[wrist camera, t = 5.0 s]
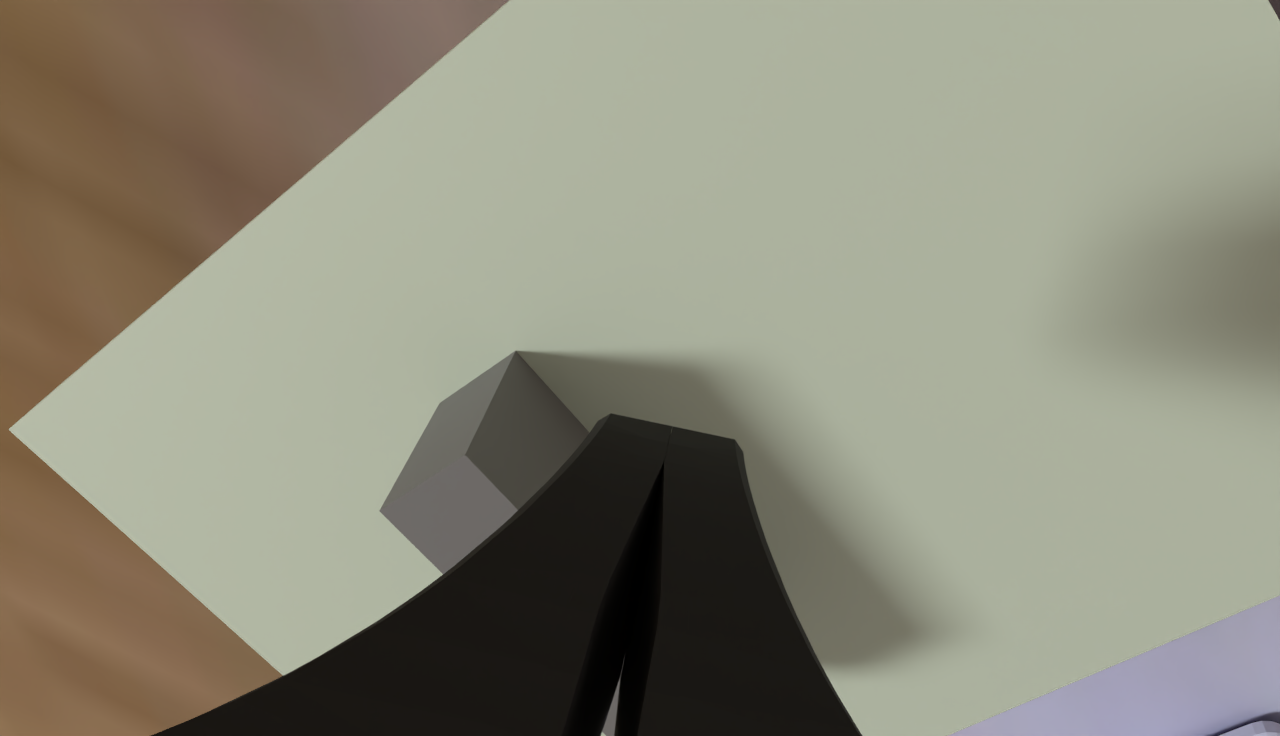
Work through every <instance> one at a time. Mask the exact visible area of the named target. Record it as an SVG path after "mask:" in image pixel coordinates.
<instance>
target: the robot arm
mask: <svg viewBox="0 0 1280 736" xmlns="http://www.w3.org/2000/svg"><path fill="white" fill-rule="evenodd" d="M671 430H672V431H671ZM622 666H623V667H622ZM621 671H622V672H621ZM620 676H621V677H620ZM619 679H620V686H619V695H618V704H617V714H616V723H615V732H614V736H862V734H861V733H860V731H859V729H858V728H857V726H856V724H855V723H854V721H853V719H852V718H851V716H850V714H849V713H848V711H847V709H846V708H845V706H844V705H843V703H842V701H841V700H840V698H839V696H838V694H837V693H836V691H835V689H834V687H833V686H832V684H831V682H830V680H829V678H828V677H827V675H826V673H825V671H824V669H823V667H822V665H821V663H820V661H819V660H818V658H817V656H816V654H815V652H814V650H813V648H812V646H811V644H810V642H809V639H808V637H807V635H806V633H805V631H804V629H803V627H802V625H801V623H800V621H799V619H798V617H797V615H796V612H795V610H794V608H793V606H792V603H791V601H790V599H789V596H788V594H787V592H786V590H785V587H784V585H783V582H782V580H781V577H780V574H779V572H778V569H777V567H776V564H775V562H774V559H773V557H772V554H771V552H770V549H769V546H768V544H767V541H766V538H765V535H764V532H763V529H762V526H761V523H760V520H759V517H758V514H757V510H756V507H755V504H754V501H753V497H752V493H751V490H750V486H749V482H748V477H747V473H746V467H745V462H744V453H743V451H742V449H741V448H740V446H739V445H738V443H737V442H736V440H735V439H731V438H726V437H721V436H717V435H712V434H707V433H702V432H698V431H693V430H688V429H683V428H679V427H674V426H673V427H672V426H669V425H664V424H660V423H655V422H650V421H645V420H641V419H636V418H631V417H626V416H622V415H617V414H612V413H610V414H609V415H607V416H605V417H603V418H602V419H600V420H598V421H597V423H596V424H595V426H594V427H593V429H592V430H591V431H590V433H589V434H588V435H587V437H586V438H585V439H584V441H583V442H582V443H581V444H580V446H579V447H578V448H577V449H576V450H575V452H574V453H573V454H572V455H571V456H570V457H569V459H568V460H567V461H566V462H565V463H564V464H563V465H562V466H561V467H560V468H559V470H558V471H557V472H556V473H555V474H554V475H553V476H552V477H551V478H550V479H549V480H548V481H547V482H546V483H545V484H544V485H543V486H542V487H541V488H540V489H539V490H538V491H537V492H536V493H535V494H534V495H533V496H532V497H531V498H530V499H529V500H528V501H527V502H526V503H525V504H524V505H523V506H522V507H521V508H520V509H519V510H518V511H517V512H516V513H515V514H514V515H513V516H512V517H511V518H510V519H508V520H507V521H506V522H505V523H504V524H503V525H502V526H501V527H500V528H498V529H497V530H496V531H495V532H494V533H493V534H491V535H490V536H489V537H488V538H487V539H485V540H484V541H483V542H482V543H481V544H479V545H478V546H477V547H476V548H475V549H474V550H472V551H471V552H470V553H469V554H468V555H466V556H465V557H464V558H463V559H462V560H461V561H459V562H458V563H457V564H456V565H455V566H453V567H452V568H451V569H450V570H448V571H447V572H446V573H444V574H443V575H442V576H440V577H439V578H438V579H436V580H435V581H434V582H432V583H431V584H430V585H428V586H427V587H426V588H424V589H423V590H422V591H420V592H419V593H417V594H416V595H415V596H413V597H412V598H410V599H409V600H408V601H406V602H405V603H403V604H402V605H400V606H399V607H397V608H396V609H394V610H393V611H391V612H390V613H388V614H387V615H385V616H384V617H383V618H381V619H380V620H378V621H376V622H375V623H373V624H372V625H370V626H368V627H367V628H365V629H363V630H362V631H360V632H359V633H357V634H355V635H354V636H352V637H350V638H349V639H347V640H345V641H344V642H342V643H340V644H339V645H337V646H335V647H334V648H332V649H330V650H329V651H327V652H325V653H324V654H322V655H320V656H319V657H317V658H315V659H313V660H311V661H310V662H308V663H306V664H304V665H302V666H301V667H299V668H297V669H295V670H293V671H291V672H289V673H288V674H286V675H284V676H282V677H280V678H278V679H276V680H274V681H272V682H270V683H268V684H266V685H263V686H261V687H259V688H257V689H255V690H253V691H251V692H249V693H247V694H245V695H242V696H240V697H238V698H236V699H234V700H232V701H230V702H228V703H226V704H223V705H221V706H219V707H217V708H215V709H213V710H211V711H209V712H207V713H204V714H202V715H200V716H198V717H195V718H193V719H191V720H189V721H186V722H184V723H181V724H179V725H176V726H174V727H171V728H169V729H166V730H164V731H162V732H159V733H157V734H154V735H151V736H601V734H602V731H603V728H604V725H605V722H606V719H607V716H608V713H609V710H610V706H611V703H612V700H613V697H614V694H615V691H616V688H617V685H618V682H619ZM1219 736H1280V724H1279V723H1276V722H1273V721H1258V722H1254V723H1250V724H1248V725H1245V726H1242V727H1240V728H1237V729H1235V730H1232V731H1229V732H1227V733H1224V734H1222V735H1219Z"/></svg>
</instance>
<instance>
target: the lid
mask: <svg viewBox="0 0 1280 736" xmlns="http://www.w3.org/2000/svg"><path fill="white" fill-rule="evenodd" d="M610 413H612V414H617V415H622V416H626V417H631V418H636V419H641V420H645V421H650V422H655V423H660V424H664V425H669V426H672V427H673V426H674V427H679V428H683V429H688V430H693V431H698V432H702V433H707V434H712V435H717V436H721V437H726V438H731V439H735V440H736V442H737V443H738V445H739V446H740V448H741V449H742V451H743V453H744V462H745V467H746V473H747V477H748V482H749V486H750V490H751V493H752V497H753V501H754V504H755V507H756V510H757V514H758V517H759V520H760V523H761V526H762V529H763V532H764V535H765V538H766V541H767V544H768V546H769V549H770V552H771V554H772V557H773V559H774V562H775V564H776V567H777V569H778V572H779V574H780V577H781V580H782V582H783V585H784V587H785V590H786V592H787V594H788V596H789V599H790V601H791V603H792V606H793V608H794V610H795V612H796V615H797V617H798V619H799V621H800V623H801V625H802V627H803V629H804V631H805V633H806V635H807V637H808V639H809V642H810V644H811V646H812V648H813V650H814V652H815V654H816V656H817V658H818V660H819V661H820V663H821V665H822V667H823V669H824V671H825V673H826V675H827V677H828V678H829V680H830V682H831V684H832V686H833V687H834V689H835V691H836V693H837V694H838V696H839V698H840V700H841V701H842V703H843V705H844V706H845V708H846V709H847V711H848V713H849V714H850V716H851V718H852V719H853V721H854V723H855V724H856V726H857V728H858V729H859V731H860V733H861V734H862V736H948V735H950V734H953V733H955V732H957V731H960V730H962V729H965V728H967V727H969V726H972V725H974V724H976V723H979V722H981V721H983V720H986V719H988V718H991V717H993V716H995V715H998V714H1000V713H1002V712H1005V711H1007V710H1010V709H1012V708H1014V707H1017V706H1019V705H1021V704H1024V703H1026V702H1028V701H1031V700H1033V699H1036V698H1038V697H1040V696H1043V695H1045V694H1047V693H1050V692H1052V691H1054V690H1057V689H1059V688H1062V687H1064V686H1066V685H1069V684H1071V683H1073V682H1076V681H1078V680H1081V679H1083V678H1085V677H1088V676H1090V675H1092V674H1095V673H1097V672H1099V671H1102V670H1104V669H1107V668H1109V667H1111V666H1114V665H1116V664H1118V663H1121V662H1123V661H1126V660H1128V659H1130V658H1133V657H1135V656H1137V655H1140V654H1142V653H1144V652H1147V651H1149V650H1152V649H1154V648H1156V647H1159V646H1161V645H1163V644H1166V643H1168V642H1170V641H1173V640H1175V639H1178V638H1180V637H1182V636H1185V635H1187V634H1189V633H1192V632H1194V631H1197V630H1199V629H1201V628H1204V627H1206V626H1208V625H1211V624H1213V623H1215V622H1218V621H1220V620H1223V619H1225V618H1227V617H1230V616H1232V615H1234V614H1237V613H1239V612H1242V611H1244V610H1246V609H1249V608H1251V607H1253V606H1256V605H1258V604H1260V603H1263V602H1265V601H1268V600H1270V599H1272V598H1275V597H1277V596H1279V595H1280V20H1279V18H1278V17H1277V15H1276V13H1275V11H1274V10H1273V8H1272V6H1271V4H1270V2H1269V1H1268V0H509V1H508V2H506V3H505V4H504V5H503V6H502V7H501V8H499V9H498V10H497V11H496V12H495V13H494V14H492V15H491V16H490V17H489V18H488V19H487V20H485V21H484V22H483V23H482V24H481V25H480V26H478V27H477V28H476V29H475V30H474V31H473V32H471V33H470V34H469V35H468V36H467V37H466V38H464V39H463V40H462V41H461V42H460V43H459V44H457V45H456V46H455V47H454V48H453V49H452V50H450V51H449V52H448V53H447V54H446V55H445V56H443V57H442V58H441V59H440V60H439V61H438V62H436V63H435V64H434V65H433V66H432V67H431V68H429V69H428V70H427V71H426V72H425V73H424V74H422V75H421V76H420V77H419V78H418V79H417V80H415V81H414V82H413V83H412V84H411V85H409V86H408V87H407V88H406V89H405V90H404V91H402V92H401V93H400V94H399V95H398V96H397V97H395V98H394V99H393V100H392V101H391V102H390V103H388V104H387V105H386V106H385V107H384V108H383V109H381V110H380V111H379V112H378V113H377V114H376V115H374V116H373V117H372V118H371V119H370V120H369V121H367V122H366V123H365V124H364V125H363V126H362V127H360V128H359V129H358V130H357V131H356V132H355V133H353V134H352V135H351V136H350V137H349V138H348V139H346V140H345V141H344V142H343V143H342V144H341V145H339V146H338V147H337V148H336V149H335V150H334V151H332V152H331V153H330V154H329V155H328V156H327V157H325V158H324V159H323V160H322V161H321V162H320V163H318V164H317V165H316V166H315V167H314V168H313V169H311V170H310V171H309V172H308V173H307V174H306V175H304V176H303V177H302V178H301V179H300V180H299V181H297V182H296V183H295V184H294V185H293V186H291V187H290V188H289V189H288V190H287V191H286V192H284V193H283V194H282V195H281V196H280V197H279V198H277V199H276V200H275V201H274V202H273V203H272V204H270V205H269V206H268V207H267V208H266V209H265V210H263V211H262V212H261V213H260V214H259V215H258V216H256V217H255V218H254V219H253V220H252V221H251V222H249V223H248V224H247V225H246V226H245V227H244V228H242V229H241V230H240V231H239V232H238V233H237V234H235V235H234V236H233V237H232V238H231V239H230V240H228V241H227V242H226V243H225V244H224V245H223V246H221V247H220V248H219V249H218V250H217V251H216V252H214V253H213V254H212V255H211V256H210V257H209V258H207V259H206V260H205V261H204V262H203V263H202V264H200V265H199V266H198V267H197V268H196V269H195V270H193V271H192V272H191V273H190V274H189V275H188V276H186V277H185V278H184V279H183V280H182V281H181V282H179V283H178V284H177V285H176V286H175V287H173V288H172V289H171V290H170V291H169V292H168V293H166V294H165V295H164V296H163V297H162V298H161V299H159V300H158V301H157V302H156V303H155V304H154V305H152V306H151V307H150V308H149V309H148V310H147V311H145V312H144V313H143V314H142V315H141V316H140V317H138V318H137V319H136V320H135V321H134V322H133V323H131V324H130V325H129V326H128V327H127V328H126V329H124V330H123V331H122V332H121V333H120V334H119V335H117V336H116V337H115V338H114V339H113V340H112V341H110V342H109V343H108V344H107V345H106V346H105V347H103V348H102V349H101V350H100V351H99V352H98V353H96V354H95V355H94V356H93V357H92V358H91V359H89V360H88V361H87V362H86V363H85V364H84V365H82V366H81V367H80V368H79V369H78V370H77V371H75V372H74V373H73V374H72V375H71V376H70V377H68V378H67V379H66V380H65V381H64V382H63V383H61V384H60V385H59V386H58V387H57V388H55V389H54V390H53V391H52V392H51V393H50V394H48V395H47V396H46V397H45V398H44V399H43V400H42V401H40V402H39V403H38V404H37V405H36V406H35V407H34V408H32V409H31V410H30V411H29V412H28V413H27V414H26V415H24V416H23V417H22V418H21V419H20V420H19V421H18V422H17V423H15V424H14V425H13V426H12V427H11V428H10V429H9V430H10V431H11V432H12V433H13V434H14V435H15V436H16V437H17V438H19V439H20V440H21V441H22V442H23V443H24V444H25V445H26V446H27V447H29V448H30V449H31V450H32V451H33V452H34V453H35V454H36V455H37V456H39V457H40V458H41V459H42V460H43V461H44V462H45V463H46V464H48V465H49V466H50V467H51V468H52V469H53V470H54V471H55V472H56V473H58V474H59V475H60V476H61V477H62V478H63V479H64V480H65V481H66V482H68V483H69V484H70V485H71V486H72V487H73V488H74V489H75V490H77V491H78V492H79V493H80V494H81V495H82V496H83V497H84V498H85V499H87V500H88V501H89V502H90V503H91V504H92V505H93V506H94V507H96V508H97V509H98V510H99V511H100V512H101V513H102V514H103V515H104V516H106V517H107V518H108V519H109V520H110V521H111V522H112V523H113V524H114V525H116V526H117V527H118V528H119V529H120V530H121V531H122V532H123V533H125V534H126V535H127V536H128V537H129V538H130V539H131V540H132V541H133V542H135V543H136V544H137V545H138V546H139V547H140V548H141V549H142V550H144V551H145V552H146V553H147V554H148V555H149V556H150V557H151V558H152V559H154V560H155V561H156V562H157V563H158V564H159V565H160V566H161V567H162V568H164V569H165V570H166V571H167V572H168V573H169V574H170V575H171V576H173V577H174V578H175V579H176V580H177V581H178V582H179V583H180V584H181V585H183V586H184V587H185V588H186V589H187V590H188V591H189V592H190V593H192V594H193V595H194V596H195V597H196V598H197V599H198V600H199V601H200V602H202V603H203V604H204V605H205V606H206V607H207V608H208V609H209V610H210V611H212V612H213V613H214V614H215V615H216V616H217V617H218V618H219V619H221V620H222V621H223V622H224V623H225V624H226V625H227V626H228V627H229V628H231V629H232V630H233V631H234V632H235V633H236V634H237V635H238V636H240V637H241V638H242V639H243V640H244V641H245V642H246V643H247V644H248V645H250V646H251V647H252V648H253V649H254V650H255V651H256V652H257V653H258V654H260V655H261V656H262V657H263V658H264V659H265V660H266V661H267V662H269V663H270V664H271V665H272V666H273V667H274V668H275V669H276V670H277V671H279V672H280V673H281V674H282V675H283V676H284V675H286V674H288V673H289V672H291V671H293V670H295V669H297V668H299V667H301V666H302V665H304V664H306V663H308V662H310V661H311V660H313V659H315V658H317V657H319V656H320V655H322V654H324V653H325V652H327V651H329V650H330V649H332V648H334V647H335V646H337V645H339V644H340V643H342V642H344V641H345V640H347V639H349V638H350V637H352V636H354V635H355V634H357V633H359V632H360V631H362V630H363V629H365V628H367V627H368V626H370V625H372V624H373V623H375V622H376V621H378V620H380V619H381V618H383V617H384V616H385V615H387V614H388V613H390V612H391V611H393V610H394V609H396V608H397V607H399V606H400V605H402V604H403V603H405V602H406V601H408V600H409V599H410V598H412V597H413V596H415V595H416V594H417V593H419V592H420V591H422V590H423V589H424V588H426V587H427V586H428V585H430V584H431V583H432V582H434V581H435V580H436V579H438V578H439V577H440V576H442V575H443V574H444V573H446V572H447V571H448V570H450V569H451V568H452V567H453V566H455V565H456V564H457V563H458V562H459V561H461V560H462V559H463V558H464V557H465V556H466V555H468V554H469V553H470V552H471V551H472V550H474V549H475V548H476V547H477V546H478V545H479V544H481V543H482V542H483V541H484V540H485V539H487V538H488V537H489V536H490V535H491V534H493V533H494V532H495V531H496V530H497V529H498V528H500V527H501V526H502V525H503V524H504V523H505V522H506V521H507V520H508V519H510V518H511V517H512V516H513V515H514V514H515V513H516V512H517V511H518V510H519V509H520V508H521V507H522V506H523V505H524V504H525V503H526V502H527V501H528V500H529V499H530V498H531V497H532V496H533V495H534V494H535V493H536V492H537V491H538V490H539V489H540V488H541V487H542V486H543V485H544V484H545V483H546V482H547V481H548V480H549V479H550V478H551V477H552V476H553V475H554V474H555V473H556V472H557V471H558V470H559V468H560V467H561V466H562V465H563V464H564V463H565V462H566V461H567V460H568V459H569V457H570V456H571V455H572V454H573V453H574V452H575V450H576V449H577V448H578V447H579V446H580V444H581V443H582V442H583V441H584V439H585V438H586V437H587V435H588V434H589V433H590V431H591V430H592V429H593V427H594V426H595V424H596V423H597V421H598V420H600V419H602V418H603V417H605V416H607V415H609V414H610ZM671 431H672V430H671ZM622 667H623V666H622ZM621 672H622V671H621ZM620 677H621V676H620ZM619 686H620V679H619V682H618V685H617V688H616V691H615V694H614V697H613V700H612V703H611V706H610V710H609V713H608V716H607V719H606V722H605V725H604V728H603V731H602V734H601V736H614V732H615V723H616V714H617V704H618V695H619Z"/></svg>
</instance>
